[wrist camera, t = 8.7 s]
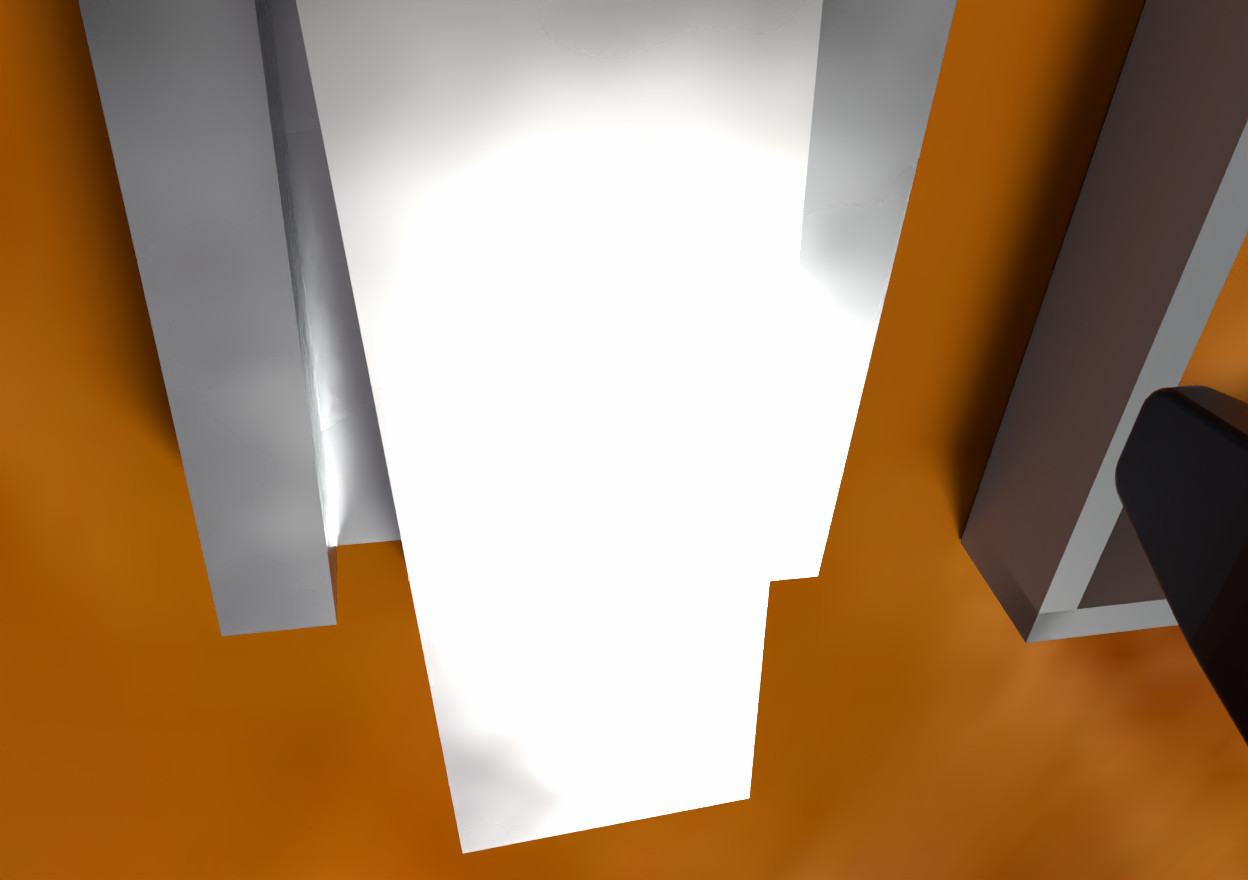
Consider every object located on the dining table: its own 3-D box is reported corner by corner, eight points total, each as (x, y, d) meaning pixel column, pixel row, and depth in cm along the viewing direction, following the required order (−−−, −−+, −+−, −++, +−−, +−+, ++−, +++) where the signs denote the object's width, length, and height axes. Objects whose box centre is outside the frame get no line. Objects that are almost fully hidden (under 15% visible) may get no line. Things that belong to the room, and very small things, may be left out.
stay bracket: (943, -449, 11) (1067, -457, 9) (768, 475, 18) (817, 575, 16) (25, -544, 9) (-53, -576, 7) (235, 517, 17) (222, 635, 15)
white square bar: (710, -846, 8) (925, -1092, 5) (679, 594, 18) (749, 798, 15) (175, -866, 8) (69, -1155, 5) (441, 633, 18) (462, 853, 15)
